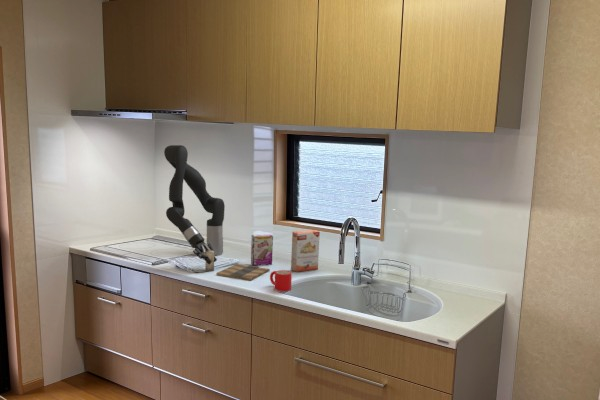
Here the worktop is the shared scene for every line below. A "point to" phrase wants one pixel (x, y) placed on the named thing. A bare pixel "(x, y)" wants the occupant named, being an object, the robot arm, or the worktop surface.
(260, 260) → the candy bar box
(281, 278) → the mug
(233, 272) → the oak board
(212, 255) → the tan tall block
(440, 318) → the worktop surface
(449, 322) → the worktop surface
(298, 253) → the cracker box
